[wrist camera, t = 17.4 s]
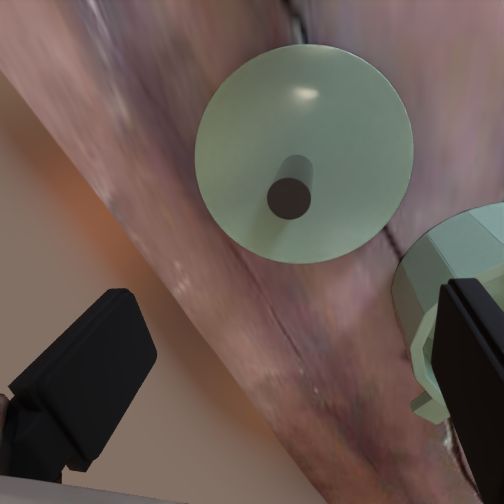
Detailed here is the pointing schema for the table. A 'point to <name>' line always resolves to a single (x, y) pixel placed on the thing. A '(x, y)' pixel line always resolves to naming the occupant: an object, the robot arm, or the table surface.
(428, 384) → the pot
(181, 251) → the table surface
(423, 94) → the table surface
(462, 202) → the table surface
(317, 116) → the lid
